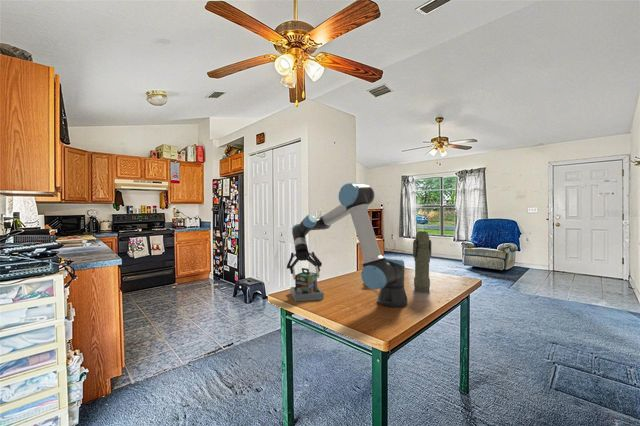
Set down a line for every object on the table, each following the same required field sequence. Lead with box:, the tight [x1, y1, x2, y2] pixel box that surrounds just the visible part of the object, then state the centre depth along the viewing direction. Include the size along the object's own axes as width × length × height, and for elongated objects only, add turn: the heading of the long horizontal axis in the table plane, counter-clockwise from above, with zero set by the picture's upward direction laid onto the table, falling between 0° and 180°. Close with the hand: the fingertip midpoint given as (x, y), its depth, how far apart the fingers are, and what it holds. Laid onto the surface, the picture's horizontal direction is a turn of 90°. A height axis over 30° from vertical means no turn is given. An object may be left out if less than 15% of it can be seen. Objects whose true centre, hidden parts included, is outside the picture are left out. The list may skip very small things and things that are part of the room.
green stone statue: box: [412, 230, 432, 293], centre depth 174 cm, size 9×12×35 cm
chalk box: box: [294, 267, 318, 294], centre depth 162 cm, size 9×9×15 cm
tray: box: [290, 285, 325, 303], centre depth 163 cm, size 15×15×4 cm
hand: (306, 277), depth 161 cm, fingers open, 13 cm apart
